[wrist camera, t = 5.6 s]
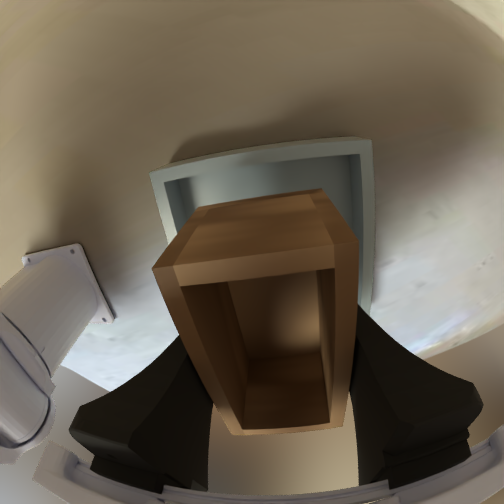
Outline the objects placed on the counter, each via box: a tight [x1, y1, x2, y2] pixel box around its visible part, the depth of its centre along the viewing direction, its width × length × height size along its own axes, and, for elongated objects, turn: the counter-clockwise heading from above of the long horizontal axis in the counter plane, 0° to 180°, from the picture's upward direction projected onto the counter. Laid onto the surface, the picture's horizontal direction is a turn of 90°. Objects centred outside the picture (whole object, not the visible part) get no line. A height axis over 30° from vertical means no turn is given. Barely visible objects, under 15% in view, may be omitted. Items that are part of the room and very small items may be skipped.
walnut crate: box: [152, 188, 359, 435], centre depth 10 cm, size 5×9×5 cm, turn 10°
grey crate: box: [149, 136, 375, 316], centre depth 17 cm, size 12×13×3 cm
